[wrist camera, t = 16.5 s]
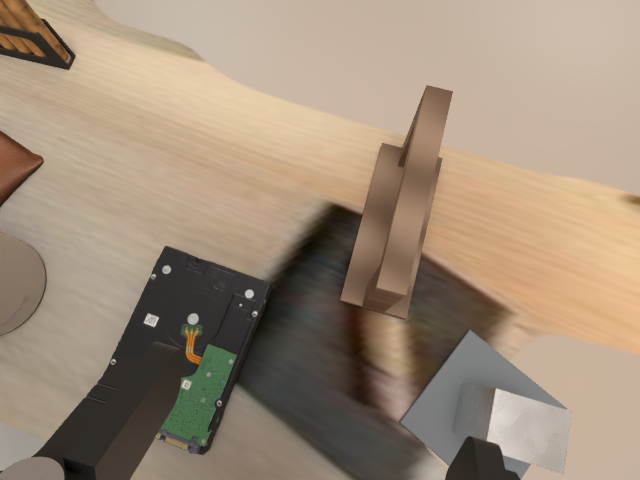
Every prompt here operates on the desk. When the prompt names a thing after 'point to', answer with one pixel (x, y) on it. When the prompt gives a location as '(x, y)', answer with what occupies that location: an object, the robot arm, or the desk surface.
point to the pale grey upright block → (514, 425)
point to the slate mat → (443, 392)
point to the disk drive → (196, 337)
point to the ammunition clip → (31, 36)
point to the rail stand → (398, 214)
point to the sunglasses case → (15, 165)
